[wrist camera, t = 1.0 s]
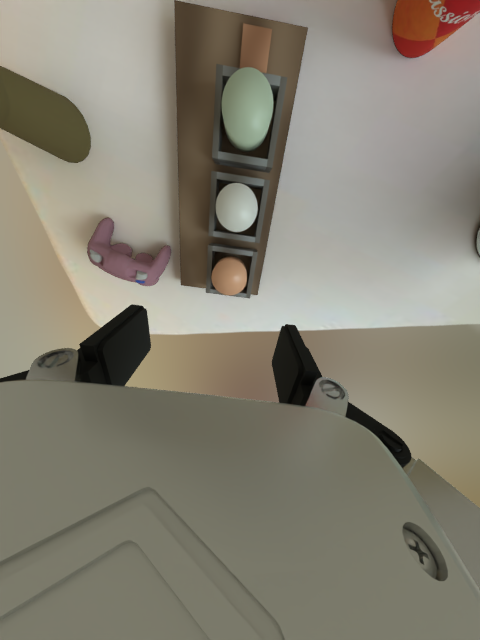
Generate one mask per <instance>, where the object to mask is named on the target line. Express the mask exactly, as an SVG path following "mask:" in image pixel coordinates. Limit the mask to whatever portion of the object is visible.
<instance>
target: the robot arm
mask: <svg viewBox="0 0 480 640" xmlns="http://www.w3.org/2000/svg"><path fill="white" fill-rule="evenodd" d="M477 250H478V253H479V255H480V228H479V231H478V235H477ZM79 345H80V349H78V350H77V351H76V350H75V349H71V348H64V349H57V350H53V351H50V352H47V353H45V354H43V355H41V356H39V357H38V358H37V359H35V360H34V362H33V363H32V365H31V368H30V370H28V371H24V372H21V373H17V374H14V375H11V376H7V377H4V378H0V640H480V508H479V507H478V506H476V505H475V504H474V503H472V502H471V501H470V500H469V499H468V498H467V497H465V496H464V495H463V494H462V493H460V492H459V491H458V490H457V489H456V488H454V487H453V486H452V485H451V484H449V483H448V482H447V481H446V480H444V479H443V478H442V477H441V476H440V475H438V474H437V473H436V472H435V471H434V470H432V469H431V468H430V467H429V466H427V465H426V464H425V463H424V462H422V461H421V460H420V459H418V460H415V459H414V458H412V457H411V453H410V450H409V448H408V447H407V445H406V444H405V442H404V441H403V440H402V439H401V438H400V437H399V436H397V434H395V433H394V432H393V431H391V430H390V429H388V428H387V427H385V426H384V425H382V424H381V423H379V422H378V421H376V420H375V419H373V418H372V417H370V416H369V415H367V414H366V413H364V412H363V411H361V410H360V409H358V408H357V407H355V406H354V405H352V404H351V403H349V402H348V399H349V398H348V397H349V396H348V393H347V390H346V389H345V388H344V387H343V386H342V385H341V384H340V383H338V382H336V381H335V380H333V379H330V378H326V377H322V375H321V373H320V371H319V369H318V367H317V365H316V363H315V361H314V359H313V357H312V355H311V353H310V351H309V349H308V348H307V347H306V346H305V344H304V342H303V340H302V338H301V336H300V334H299V332H298V330H297V328H296V326H295V325H288V324H286V325H285V326H282V328H281V331H280V334H279V338H278V341H277V345H276V348H275V352H274V356H273V359H272V367H273V372H274V377H275V382H276V387H277V392H278V397H279V403H276V402H267V401H259V400H250V399H241V398H232V397H223V396H214V395H204V394H195V393H185V392H176V391H166V390H157V389H147V388H137V387H127V386H125V384H126V383H127V381H128V380H129V378H130V377H131V376H132V374H133V373H134V372H135V370H136V369H137V367H138V366H139V365H140V363H141V362H142V360H143V359H144V358H145V356H146V355H147V353H148V352H149V351H150V348H151V342H150V334H149V325H148V317H147V310H146V309H144V307H143V306H139V305H130V306H129V307H128V308H126V309H125V310H124V311H122V312H121V313H120V314H119V315H117V316H116V317H115V318H113V319H112V320H111V321H109V322H108V323H107V324H105V325H104V326H103V327H101V328H100V329H99V330H98V331H96V332H95V333H94V334H92V335H91V336H90V337H88V338H87V339H86V340H84V341H83V342H82V343H80V344H79Z"/></svg>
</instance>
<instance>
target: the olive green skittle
mask: <svg viewBox="0 0 480 640" xmlns="http://www.w3.org/2000/svg"><path fill="white" fill-rule="evenodd" d="M0 128H1V129H3V130H5V131H7V132H9V133H11V134H13V135H15V136H17V137H19V138H21V139H23V140H25V141H27V142H29V143H31V144H33V145H35V146H37V147H39V148H41V149H43V150H45V151H47V152H49V153H51V154H53V155H55V156H57V157H59V158H61V159H63V160H65V161H68V162H72V163H78V162H80V161H83V160H84V159H85V158H86V157H87V156H88V154H89V150H90V147H91V139H90V133H89V129H88V126H87V124H86V122H85V119H84V117H83V115H82V114H81V113H80V111H79V110H78V109H77V107H76V106H75V105H74V104H73V103H72V102H71V101H70V100H68V99H67V98H66V97H64V96H62V95H60V94H58V93H56V92H53V91H51V90H49V89H47V88H45V87H43V86H41V85H39V84H37V83H35V82H33V81H31V80H29V79H27V78H25V77H23V76H20V75H18V74H16V73H14V72H12V71H10V70H8V69H6V68H4V67H2V66H0Z"/></svg>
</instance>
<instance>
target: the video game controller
mask: <svg viewBox="0 0 480 640" xmlns="http://www.w3.org/2000/svg"><path fill="white" fill-rule="evenodd" d="M113 229H114V222H113V221H112V219H110V218H105V219H103V220H102V221H101V222H100V223H99V224H98V226H97V228H96V230H95V232H94V234H93V235H92V237H91V239H90V241H89V243H88V248H87V253H88V256H89V259H90V261H91V262H92V263H93V264H94V265H96V266H98V267H99V268H101V269H102V270H104V271H105V272H107V273H109V274H111V275H113V276H115V277H118V278H121V279H124V280H127V281H131V282H137V283H139V284H140V285H143V286H152V285H154V284H156V283H157V282H158V280H159V277H160V276H161V274H162V273H163V271H164V270H165V268H166V266H167V264H168V261H169V259H170V255H171V248H170V246H168V245H167V246H164V247H163V248H162V249H161V250H160V252H159V253H158V255H157V256H156V258H155V259H154V260H153V259H152V257H151V256H150V255H149V254H146V253H140V254H138V255H137V256H136V260H135V259H133V258H131V256H132V249H131V247H130V246H128V245H126V244H121V243H120V244H116V245H110V240H111V237H112V234H113Z"/></svg>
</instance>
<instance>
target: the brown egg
mask: <svg viewBox="0 0 480 640" xmlns="http://www.w3.org/2000/svg"><path fill="white" fill-rule="evenodd" d="M211 279H212V283H213V286H214V287H215V289H216V290H217V291H219V292H220V293H222V294H224V295H235V294H238V293H239V292H241V291H242V290H243V289H244V287H245V285H246V282H247V271H246V267H245V264H244V263H243V262H242V261H241V260H240V259H239V258H237V257H234V256H226V257H223V258H222V259H220V260H219V261H218V263H217V264H216V266H215V268H214V269H213V271H212V276H211Z"/></svg>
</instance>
